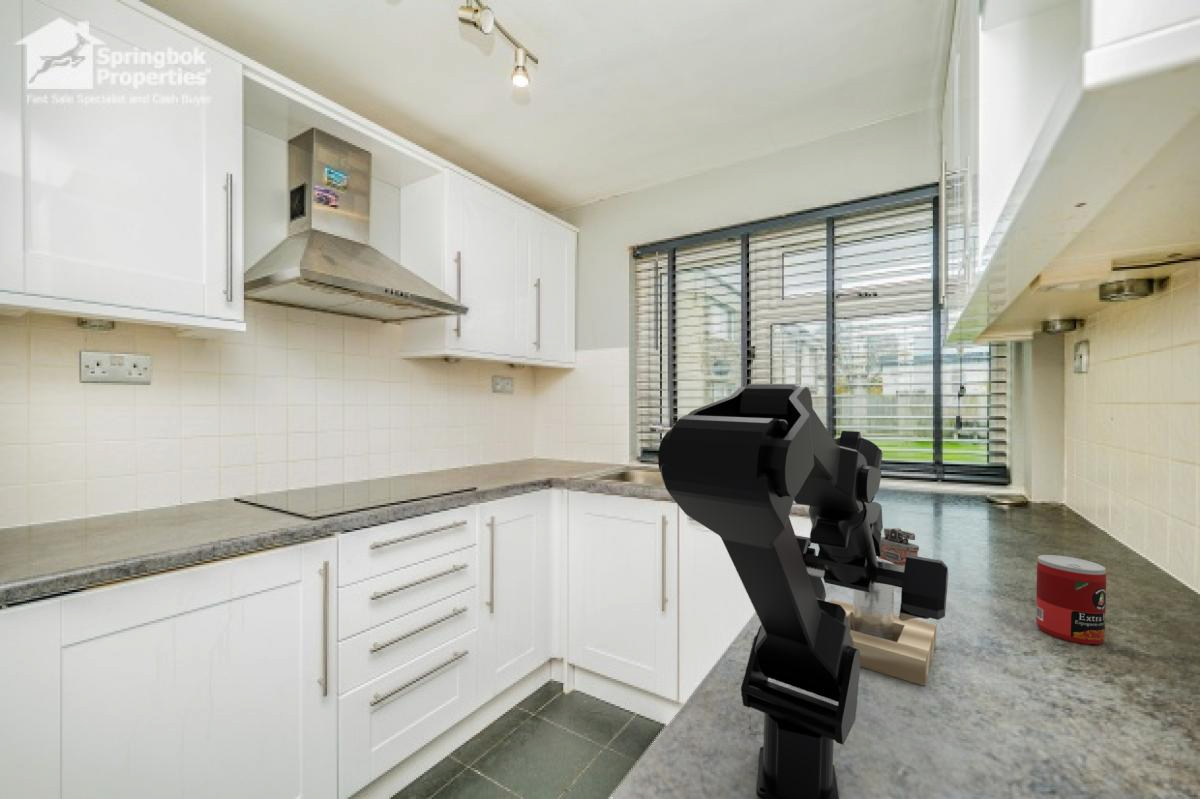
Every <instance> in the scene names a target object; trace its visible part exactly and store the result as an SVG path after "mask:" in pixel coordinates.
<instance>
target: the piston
mask: <svg viewBox="0 0 1200 799" xmlns="http://www.w3.org/2000/svg"><path fill="white" fill-rule="evenodd" d="M877 561H880V562H885V563H890V564H894V563H892V562H890V561H887V560H883V559H879V558H878V557H877ZM852 600H853V603H852V604H853V631H856V632H860V633H864V634H868V635H871V636H875V637H879V638H883V639H886V640H890V641H893V625H894V614H895V613H894V612H895V586H892V585H887V584H882V583H877V582H873V583H872V584H871V590H870V593H869V592H865V591H860V590H855V589H853V599H852Z"/></svg>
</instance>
